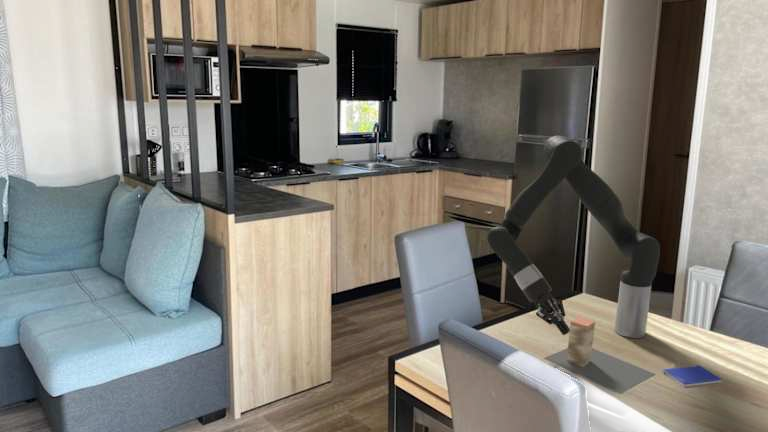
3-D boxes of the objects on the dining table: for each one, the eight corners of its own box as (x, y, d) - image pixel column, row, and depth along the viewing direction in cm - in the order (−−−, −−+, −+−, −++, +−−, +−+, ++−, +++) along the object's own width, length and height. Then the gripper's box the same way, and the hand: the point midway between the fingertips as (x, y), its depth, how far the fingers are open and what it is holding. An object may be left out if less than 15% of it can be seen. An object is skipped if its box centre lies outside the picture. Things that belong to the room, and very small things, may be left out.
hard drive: (683, 383, 150) (722, 378, 154) (662, 368, 158) (698, 364, 161) (682, 388, 151) (721, 383, 154) (661, 373, 159) (697, 369, 162)
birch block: (566, 360, 162) (570, 321, 160) (574, 355, 166) (578, 316, 163) (583, 366, 159) (587, 326, 156) (590, 361, 163) (595, 321, 160)
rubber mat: (579, 344, 175) (579, 343, 174) (655, 376, 156) (655, 374, 156) (543, 360, 164) (543, 358, 164) (620, 395, 145) (620, 393, 145)
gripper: (530, 281, 162) (566, 334, 157) (551, 271, 172) (586, 321, 166) (512, 294, 167) (547, 345, 161) (534, 284, 176) (567, 332, 171)
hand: (567, 333), depth 164 cm, fingers closed
